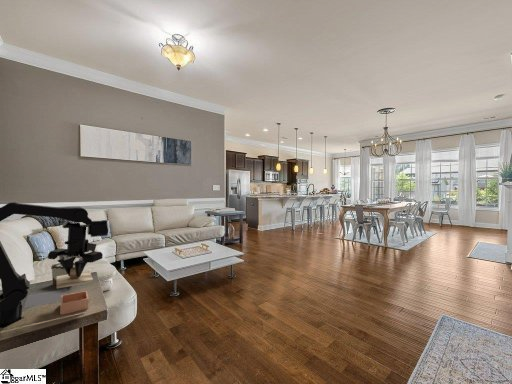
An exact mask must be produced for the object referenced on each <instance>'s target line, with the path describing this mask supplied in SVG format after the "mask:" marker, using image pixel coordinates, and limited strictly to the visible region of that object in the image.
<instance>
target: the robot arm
mask: <svg viewBox="0 0 512 384" xmlns="http://www.w3.org/2000/svg"><path fill="white" fill-rule="evenodd" d="M14 215H20V216H21V215H23V216H36V217H47V218H57V219H62V220H65V221H66V223H64V224H62V228H63V229H68V230H67V231H68V233H67V240H66V241H64V245H67V248H58V249H54V250H50V251H49V253H48V254H47V259H48V260H56V259H57V258H59V259H57V262H58V263H60V264H61V265H62V266H63V268H64V269H65V271H66V272H67V274H68V276H70V268H73V263H75V267H76V274H77V277H80V276H81V274H82V272H84V270H85V267H86V266H87V264H88V263H90V264H91V263H95V262H97V261H100V260H101V259H103V256H104V255H103V253H102V252H101V251H96V247H97V245H98V244H97V243H91V242H89V240H88V239H86V237H87V235H88V236H90V237H91V238H93V237H106V236H108V235H109V234H108V233H109V226H108V220H106V219H101V220H93V219H91V218H89V213H88V211H87V210H86V209H85V208H83V207H81V206H64V207H62V206H59V207H58V206H48V205H38V204H29V203H20V202H16V201H10V202H7V203H6V204H5V205H3V206H0V222H2V221H4V220H5V219H6V220H7V218H10V217H11V216H14ZM81 223H82V224H81ZM76 258H78V260H77V261H75V260H76ZM0 283H1V291H2V293H0V329H4V328H7V327H9V326H11V325H12V324H15V323H17V322H19V321H21V320H23V319H25V317H24V316H22V314H23V304H22V301H24V300H25V298H27V297H28V295H29V294H28V293H29V289H30V285H31V281H29V280H28V279H27V275H26V273H24V274H23V273H22V274H21V275H20V274H19V273H18V272H17V271H16V269H15V267H14V265H13V263H12V261H11V259H10V258H9V255H8V254H7V251H6V249H5V247H4V246H3V244H2V242H1V240H0Z"/></svg>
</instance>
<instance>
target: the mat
mask: <svg viewBox="0 0 512 384" xmlns="http://www.w3.org/2000/svg"><path fill="white" fill-rule="evenodd" d="M66 294H68V287H65V288H60V289H55V290H50V291H44V292H38V293H32V294H27V296H26V300H25V303H24V306H23V309H29V308H33V307H39V306H44V305H47V304H48V305H49V304H53V303H58V302H61V295H66Z"/></svg>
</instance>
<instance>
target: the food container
mask: <svg viewBox="0 0 512 384" xmlns="http://www.w3.org/2000/svg"><path fill="white" fill-rule="evenodd" d="M73 267H75V262H73ZM50 269H51V276H52V278H51V279H52V281H51V284H52V285H54V286H57V281H56V278H57V276H62V275H68V274H67V272H66V271H65V269H64V268H63V266H62V265H61V264H60V262H58V263H55V264H51V267H50ZM68 287H72V286H68Z"/></svg>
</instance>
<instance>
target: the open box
mask: <svg viewBox="0 0 512 384" xmlns="http://www.w3.org/2000/svg"><path fill="white" fill-rule="evenodd" d="M89 301H90V298H89V294H88V290H82V291H78V292H73V293H67V294H66V295H61V301H60V305H59V306H60V308H59V309H60V310H59V313H60V314H59V315H64V314H65V315H66V314H70V313H74V312H78V311H82V310H86V309H89Z"/></svg>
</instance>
